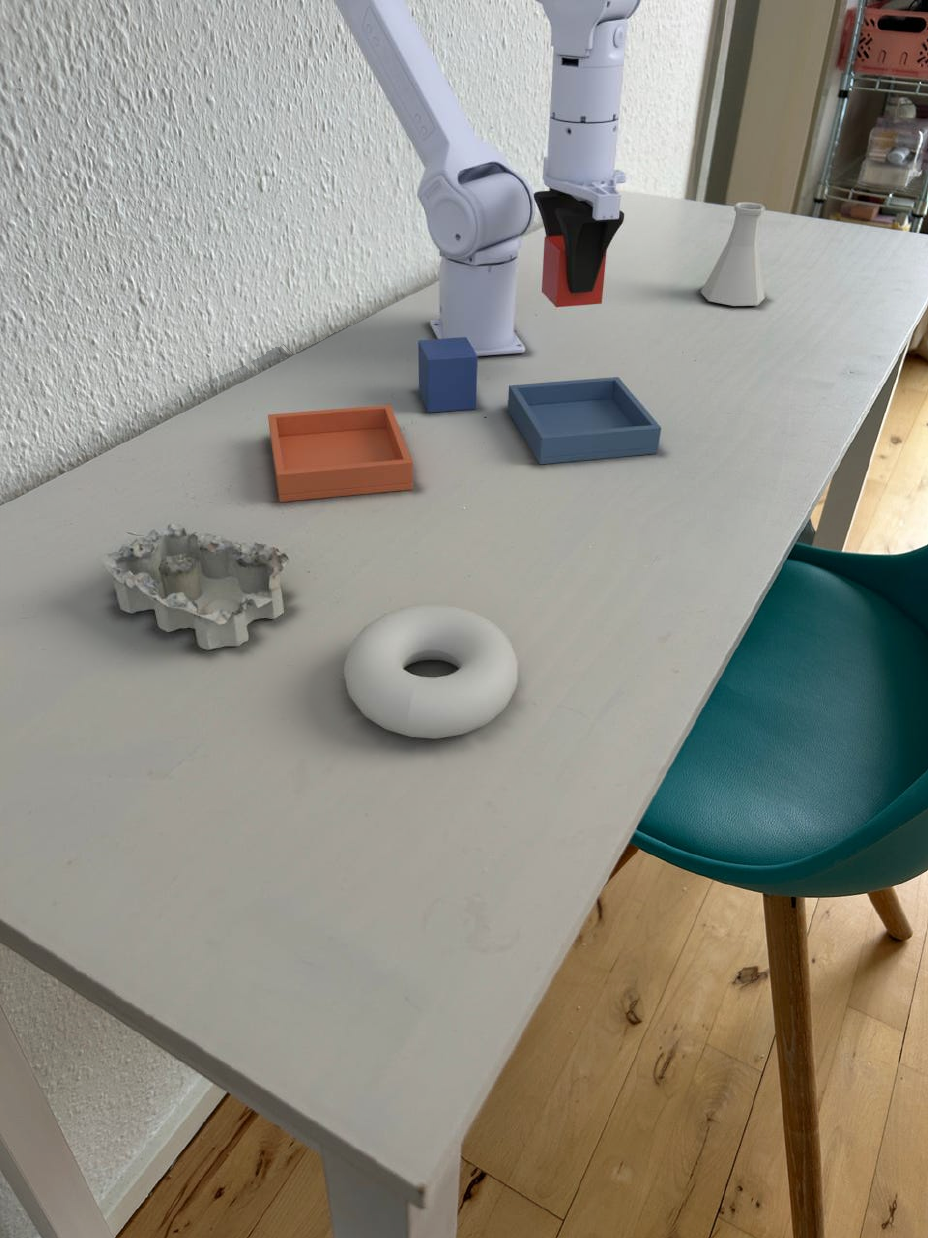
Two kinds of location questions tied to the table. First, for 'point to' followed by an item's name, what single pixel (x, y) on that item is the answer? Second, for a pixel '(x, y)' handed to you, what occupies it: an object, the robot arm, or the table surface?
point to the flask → (739, 262)
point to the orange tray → (339, 453)
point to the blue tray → (582, 420)
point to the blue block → (447, 374)
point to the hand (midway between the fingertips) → (572, 282)
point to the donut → (425, 699)
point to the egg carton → (199, 583)
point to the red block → (565, 277)
